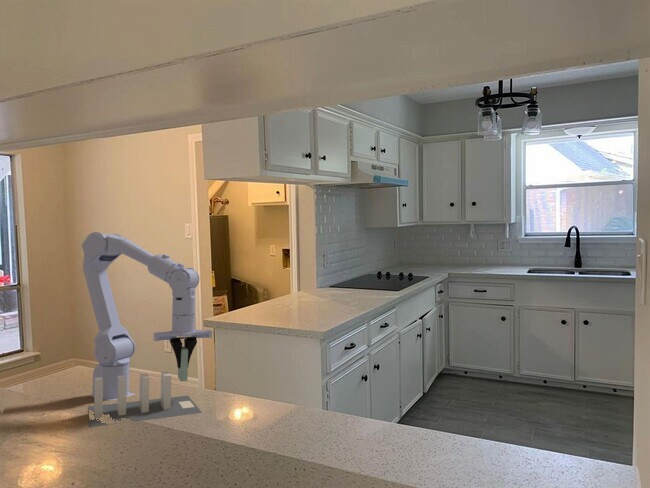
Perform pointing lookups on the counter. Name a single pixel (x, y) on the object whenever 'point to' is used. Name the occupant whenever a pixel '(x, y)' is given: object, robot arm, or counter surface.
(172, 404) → the mat
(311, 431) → the counter surface
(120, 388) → the domino
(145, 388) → the domino
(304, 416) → the counter surface
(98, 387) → the domino
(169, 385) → the domino
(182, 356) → the domino
